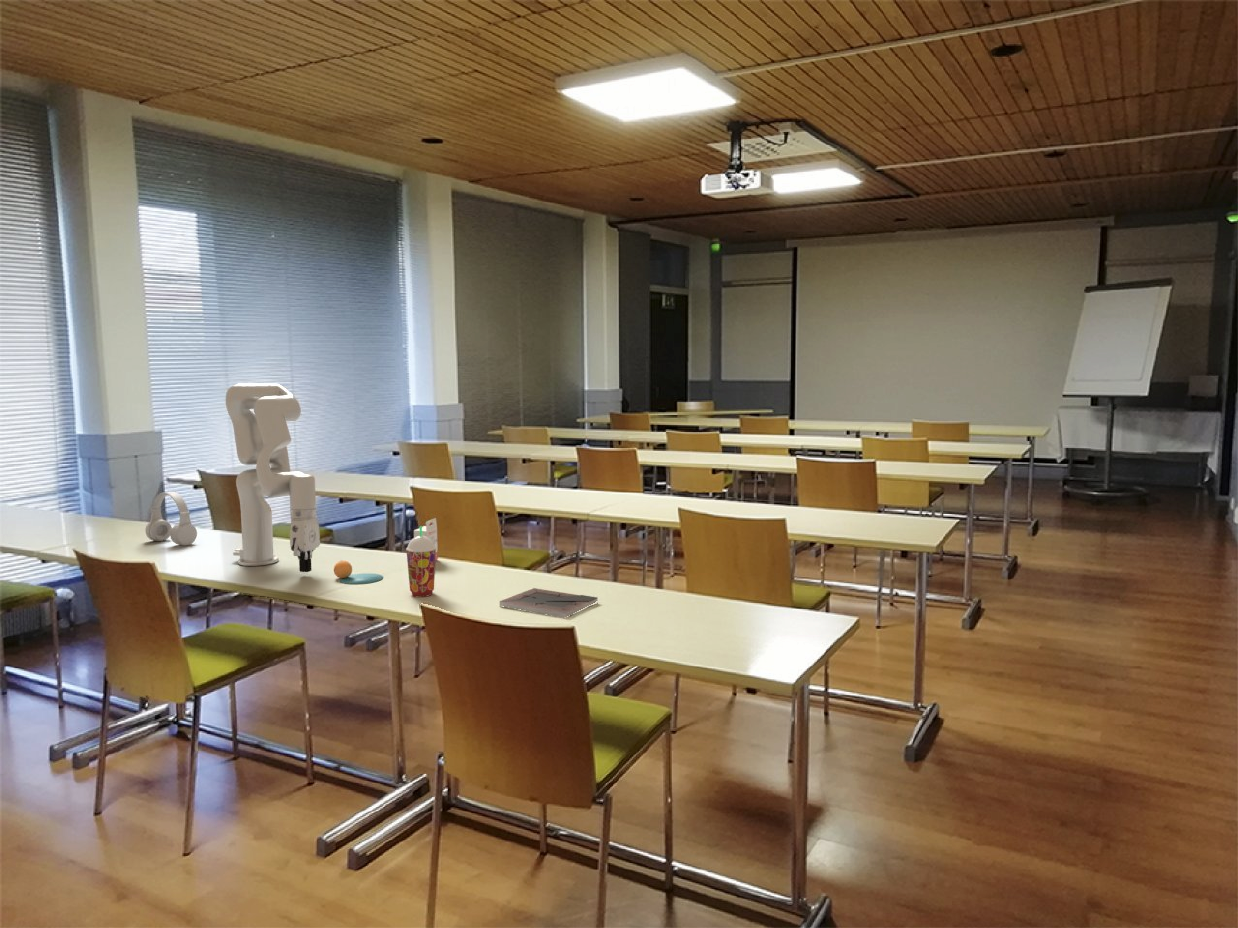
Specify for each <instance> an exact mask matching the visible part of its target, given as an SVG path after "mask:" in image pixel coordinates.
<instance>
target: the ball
mask: <svg viewBox="0 0 1238 928" xmlns="http://www.w3.org/2000/svg"><path fill="white" fill-rule="evenodd" d="M333 572H334V576H336V577H337V578H339V579H340V578H347V577H349V576H350V575H352V572H353V566H352V564H351V563H350V562H349V561H347V560H340V561H337V563H335V565H334V566H333Z"/></svg>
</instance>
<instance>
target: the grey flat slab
mask: <svg viewBox="0 0 1238 928" xmlns="http://www.w3.org/2000/svg"><path fill="white" fill-rule="evenodd" d="M596 601H598V596H590V595H586V594H585V595H584V594H575V593H568V592H567V593H566V592H560V591H553V590H547V589H542V588H535V587H533V588H531V589H528V590H526V591H523V592H520V593H517V594H515V595H513V596H510V597H507V598H504V599H502V600H499V607H500V606H504V607H509V608H508V609H510V608H516V609H521V610H526V611H525V612H527V611H531V612H530V613H533V612H535V613H534V614H539V613H540V615H545V614H547V615H546V616H551V615H552V617H557V616H558V617H559V618H562V617H567V616H569V615H571V614H573V613H575V612H577V611H579V610H581V609H583V608H585V607H587V606H589V605H591V604H593V603H595V602H596ZM504 607H503V608H504ZM516 609H515V610H516ZM521 610H520V611H521ZM571 616H572V615H571ZM569 617H570V616H569ZM567 618H568V617H567Z"/></svg>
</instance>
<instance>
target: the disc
mask: <svg viewBox="0 0 1238 928" xmlns="http://www.w3.org/2000/svg"><path fill="white" fill-rule="evenodd" d="M383 578H384V576H383V575H382V574H378V573H370V572H369V573H367V572H366V573H355V574H354V573H353V574H351V575H350V576H349V577H347V578H339V580H338V581H339V582H340V583H342V584H345V585H366V584H367V585H368V584H372V583H376V582H380V581H381V580H383Z"/></svg>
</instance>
